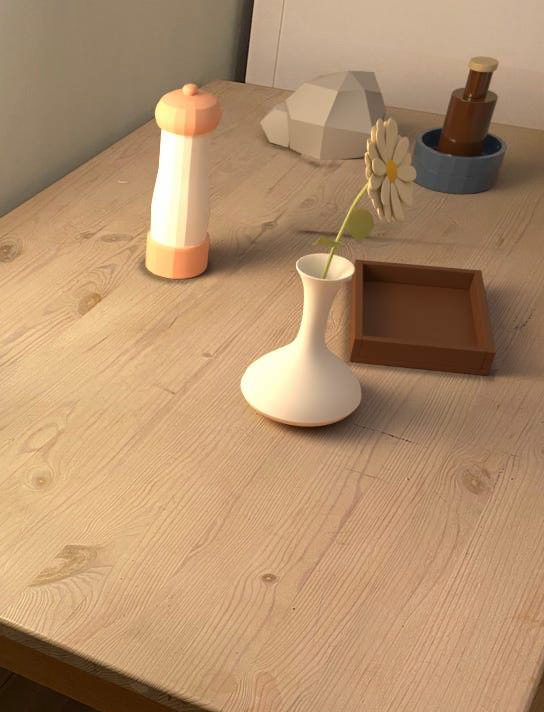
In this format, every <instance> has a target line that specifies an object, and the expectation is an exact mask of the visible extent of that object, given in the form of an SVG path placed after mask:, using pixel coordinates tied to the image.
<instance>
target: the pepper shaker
mask: <svg viewBox="0 0 544 712" xmlns="http://www.w3.org/2000/svg"><path fill="white" fill-rule="evenodd" d="M222 113H223V112H222V106H221V103H220V101H219V99H218V98H217V97H216V95H214V94H212V93H210V92H209V91H206V90H203V89H200V88H198V86H197V84H195V83H186V84H184V85H183V87H182V88H179V89H175V90H173V91H170V92H168V93H166V94H164V95H162V97H161V98H160V100H159V101H158V103H157V104H156V107H155V111H154V117H155V121H156V124H157V126H158V127H159V128H160V130H161V131H160V132H161V134H160V145H159V146H160V149H159V163H158V171H157V176H156V181H155V185H154V189H153V194H152V199H151V200H152V201H151V210H150V211H151V215H150V218H151V219H150V229H149V231H148V232H147V233H146V248H145V249H146V250H145V267H146V269H147V270H148V271H149V272H151V273H152V274H154V275H156V276H159V277H162V278H167V279H172V280H173V279H175V280H177V279H178V280H179V279H180V280H183V279H189V278H194V277H197V276H200V275H201V274H203V273H204V272H205V271H206V269H207V268H208V261H209V252H210V243H211V238H210V237H211V236H210V233H209V231H208V230H209V229H208V228H209V222H210V214H211V185H210V164H211V162H210V161H211V152H212V144H213V143H212V141H213V131H215V130H216V129H217V128H218V126H219V125H220V122H221V120H222V117H223V114H222Z"/></svg>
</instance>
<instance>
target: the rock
mask: <svg viewBox="0 0 544 712" xmlns="http://www.w3.org/2000/svg"><path fill="white" fill-rule="evenodd" d="M386 113H387V108H386V104H385V101H384V98H383V94H382V91H381V88H380V85H379V82H378V80H377V77H376V74H375V72H374V71H365V70H343V71H338V72H333V73H326V74H320V75H318V76H315V77H314V78H312V79H309V80H307V81H306V82H305V83H303V84H302V85H301V86H300V87H299V88H298V89H296V90H295V91H294V92H293V93H292V94H291V95H290V96H288V97H287V98H286V99H285V101H284V102H281V103H277V104H275V105H274V106H273V107H272V108H271V109H270V110H269V111H268V112H267V113H266V114H265V115H264V116H263V118H262V119H261V120H260V122H259V123H260V125H261V127H262V129H263V132H264V133H265V135H266V138H267V139H268V142H269V143H271V144H274V145H278V146H281V147H285V148H289V149H290V150H293V151H295V152H297V153H299V154H303V155H305V156H308V157H311V158H313V159H316V160H318V161H337V160H338V161H341V160H347V159H349V160H350V159H357V158H359V159H360V158H365V153H366V152H368V150H367V140H368V138H370V139H371V131H372V127H373V126H376V124H377V121H378V119H380V118H381V119H382V120H383V122H385V120H384V119H385V117H386Z"/></svg>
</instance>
